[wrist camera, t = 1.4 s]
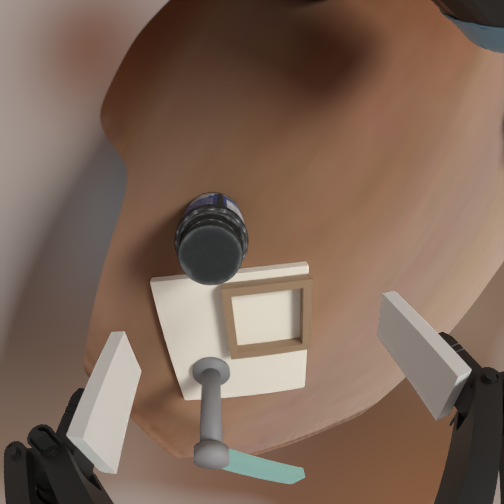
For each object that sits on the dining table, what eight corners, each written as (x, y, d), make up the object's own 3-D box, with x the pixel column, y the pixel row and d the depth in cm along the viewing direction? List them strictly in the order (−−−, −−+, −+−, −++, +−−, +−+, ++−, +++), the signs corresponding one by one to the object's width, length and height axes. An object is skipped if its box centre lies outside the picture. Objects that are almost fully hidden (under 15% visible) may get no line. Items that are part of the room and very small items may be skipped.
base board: (152, 277, 32) (118, 353, 20) (305, 261, 34) (352, 328, 21) (185, 394, 39) (179, 470, 27) (302, 381, 41) (327, 454, 28)
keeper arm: (187, 449, 24) (186, 462, 23) (206, 436, 24) (206, 451, 22) (286, 477, 29) (288, 487, 27) (306, 466, 28) (309, 477, 26)
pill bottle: (181, 241, 31) (163, 287, 21) (189, 186, 29) (172, 208, 19) (236, 250, 32) (243, 299, 22) (247, 196, 30) (260, 222, 20)
